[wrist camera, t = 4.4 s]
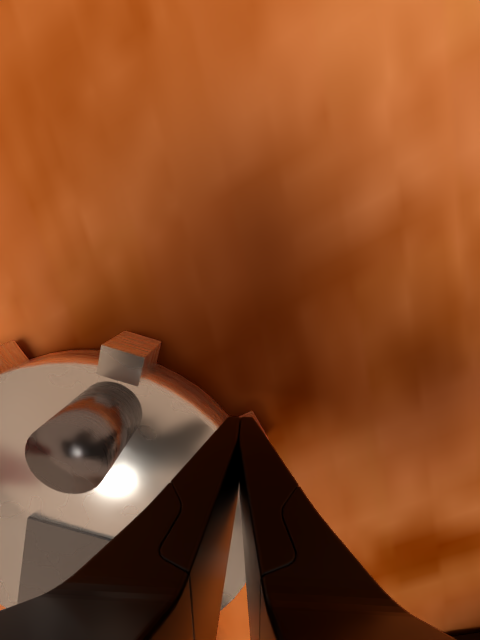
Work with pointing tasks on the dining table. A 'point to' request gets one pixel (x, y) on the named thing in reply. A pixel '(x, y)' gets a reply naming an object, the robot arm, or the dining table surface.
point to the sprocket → (92, 456)
